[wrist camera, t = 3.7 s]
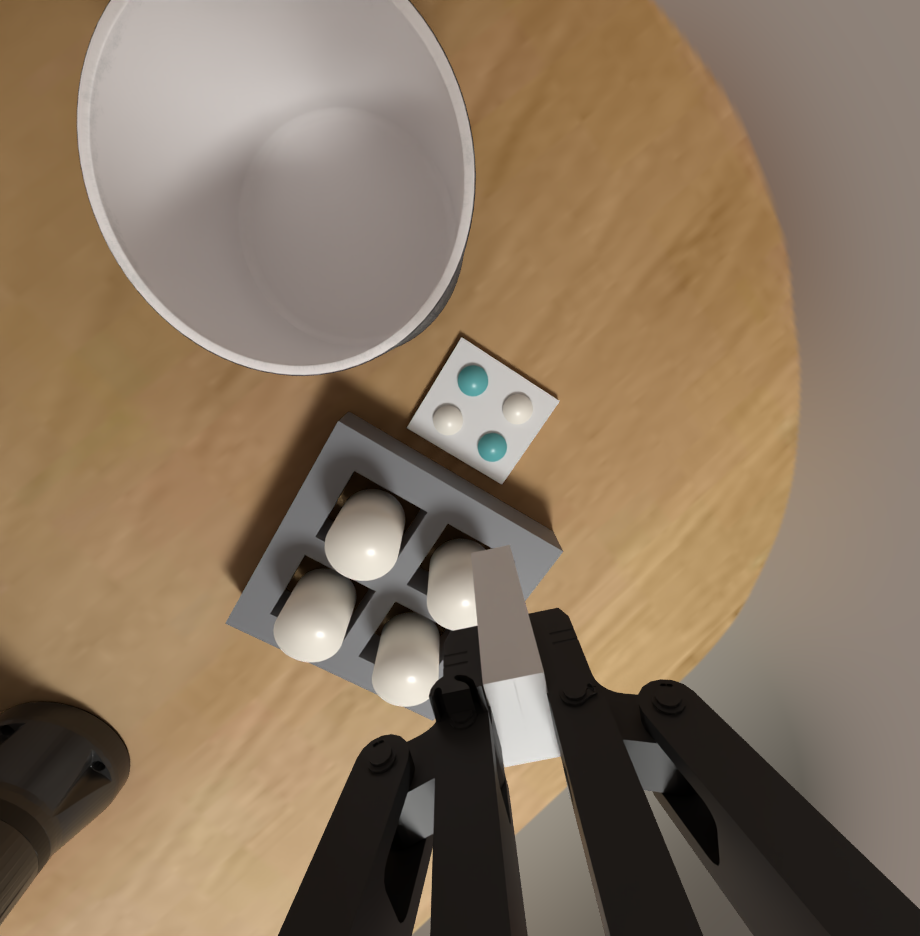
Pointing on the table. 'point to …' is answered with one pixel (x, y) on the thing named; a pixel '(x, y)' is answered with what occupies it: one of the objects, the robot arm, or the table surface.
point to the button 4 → (453, 584)
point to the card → (482, 412)
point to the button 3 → (407, 660)
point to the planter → (279, 172)
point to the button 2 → (366, 535)
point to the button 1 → (316, 616)
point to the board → (406, 581)
